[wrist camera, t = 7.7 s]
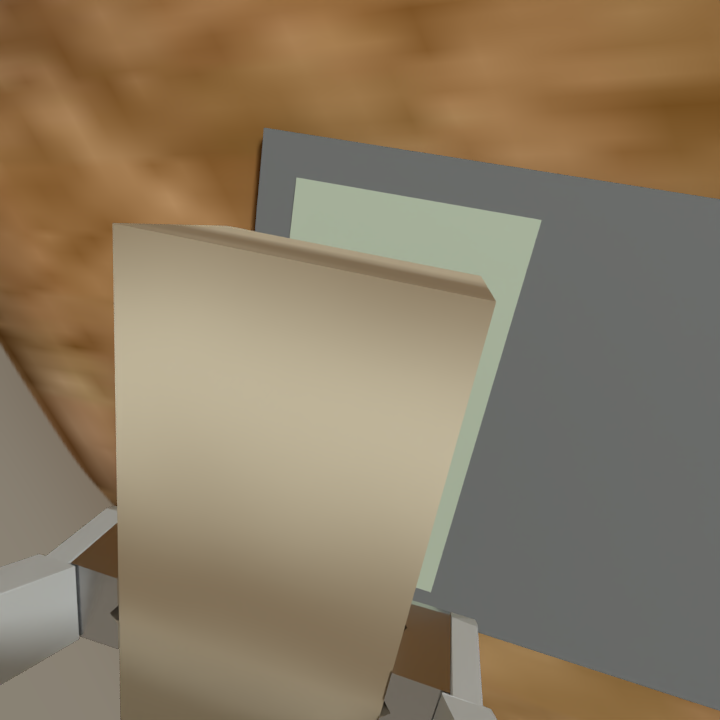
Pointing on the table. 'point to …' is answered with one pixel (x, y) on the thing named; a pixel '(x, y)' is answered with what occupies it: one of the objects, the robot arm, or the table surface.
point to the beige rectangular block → (277, 465)
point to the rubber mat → (556, 396)
